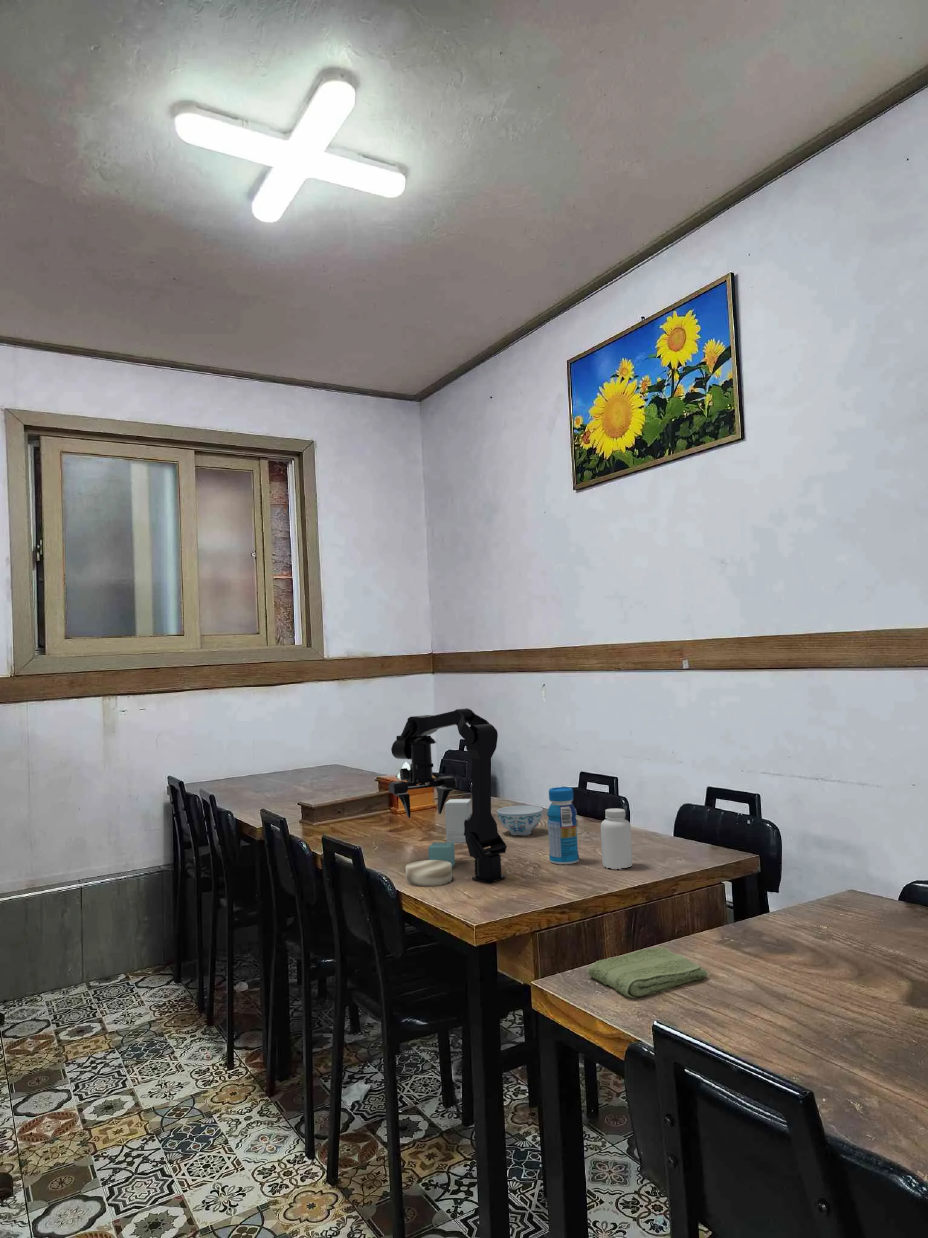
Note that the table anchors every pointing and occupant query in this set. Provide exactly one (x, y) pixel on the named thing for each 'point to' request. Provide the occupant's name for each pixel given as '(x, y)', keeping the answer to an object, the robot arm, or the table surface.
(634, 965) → the washcloth
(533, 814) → the chinaware
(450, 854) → the teal block
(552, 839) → the beverage bottle
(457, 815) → the supplement box
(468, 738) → the robot arm
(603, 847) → the pill bottle
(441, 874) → the birch riser
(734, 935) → the table surface
